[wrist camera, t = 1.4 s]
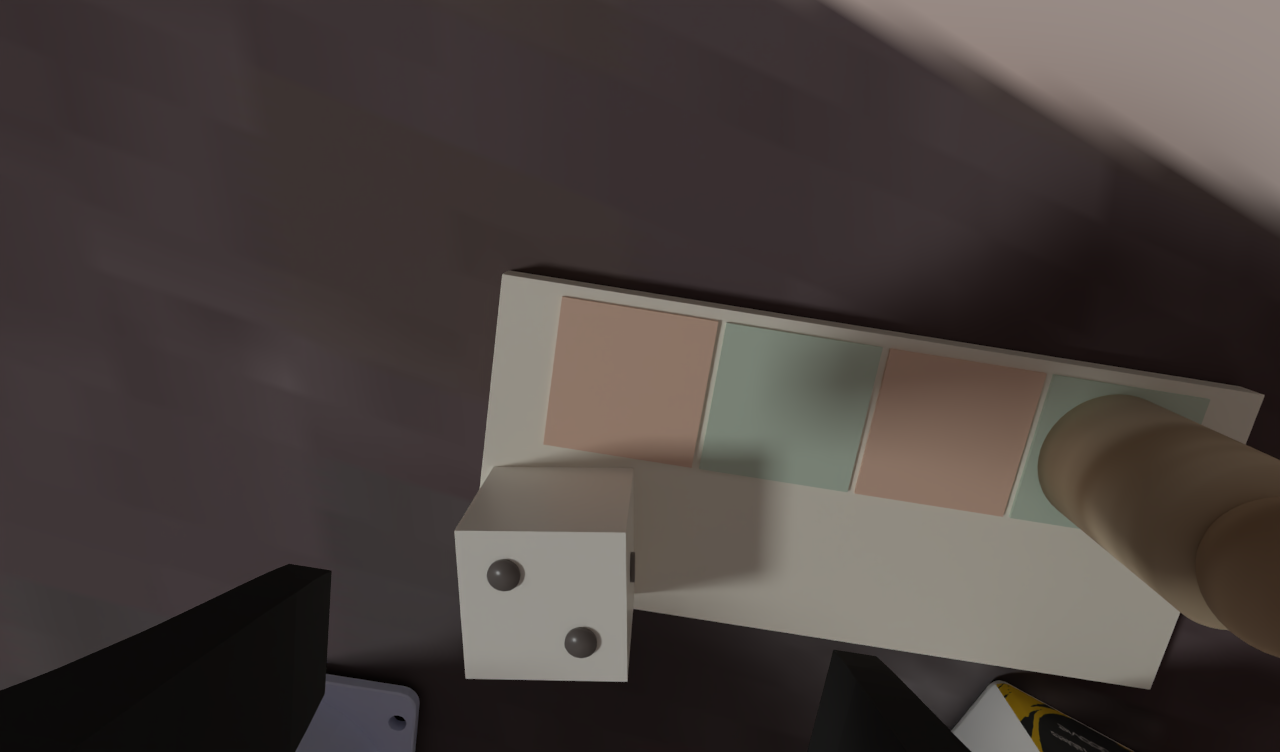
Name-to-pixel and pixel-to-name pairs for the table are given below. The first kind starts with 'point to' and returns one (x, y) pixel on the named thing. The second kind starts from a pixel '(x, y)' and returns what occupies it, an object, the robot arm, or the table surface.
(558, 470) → the die
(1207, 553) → the pawn
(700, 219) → the table surface
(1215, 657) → the table surface
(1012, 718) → the medicine bottle
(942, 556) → the board
